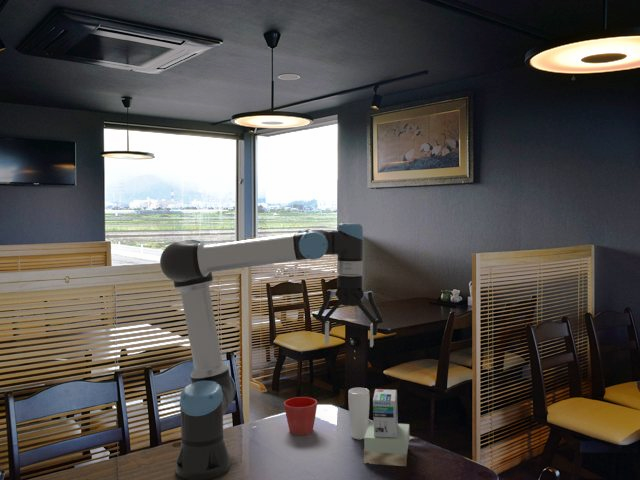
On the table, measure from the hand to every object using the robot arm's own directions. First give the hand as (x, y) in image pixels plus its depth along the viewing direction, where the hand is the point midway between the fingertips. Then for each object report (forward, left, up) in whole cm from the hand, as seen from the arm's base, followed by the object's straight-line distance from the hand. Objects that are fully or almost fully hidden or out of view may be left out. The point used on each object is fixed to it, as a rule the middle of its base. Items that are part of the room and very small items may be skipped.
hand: (349, 344), depth 165 cm
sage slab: (+11, -3, -29) cm, 31 cm away
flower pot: (-18, +12, -32) cm, 39 cm away
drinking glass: (+2, +9, -32) cm, 34 cm away
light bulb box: (+11, -3, -25) cm, 27 cm away
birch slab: (+11, -3, -33) cm, 34 cm away
